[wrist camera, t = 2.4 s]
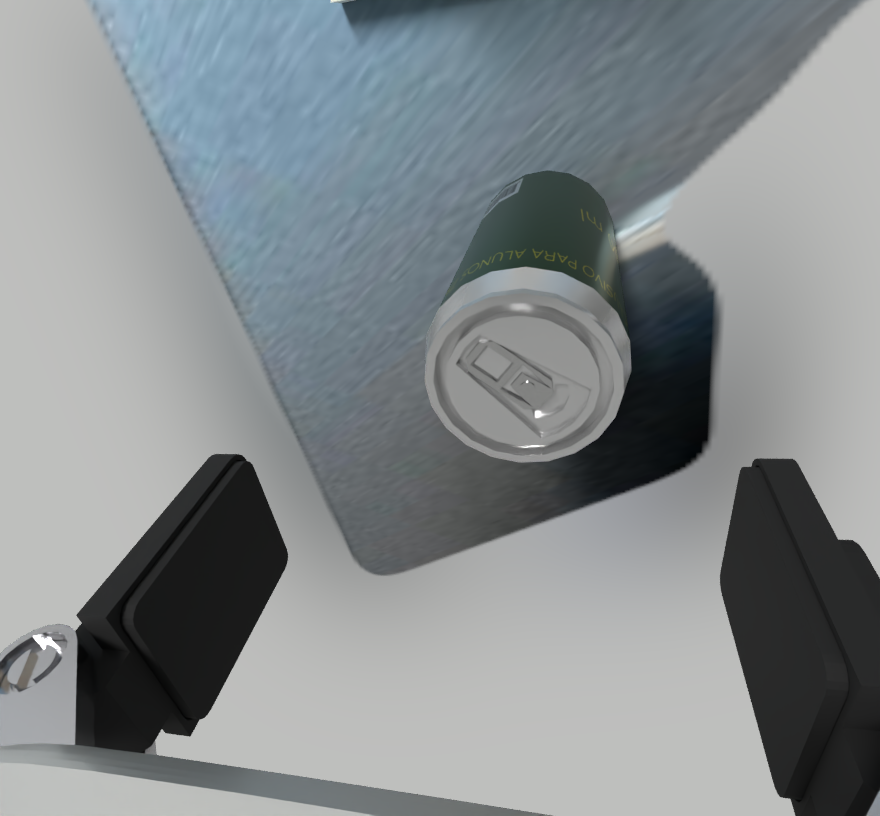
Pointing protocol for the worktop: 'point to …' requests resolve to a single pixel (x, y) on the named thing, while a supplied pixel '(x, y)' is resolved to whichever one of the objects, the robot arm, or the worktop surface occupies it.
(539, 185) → the beer can
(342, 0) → the board
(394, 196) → the worktop surface
